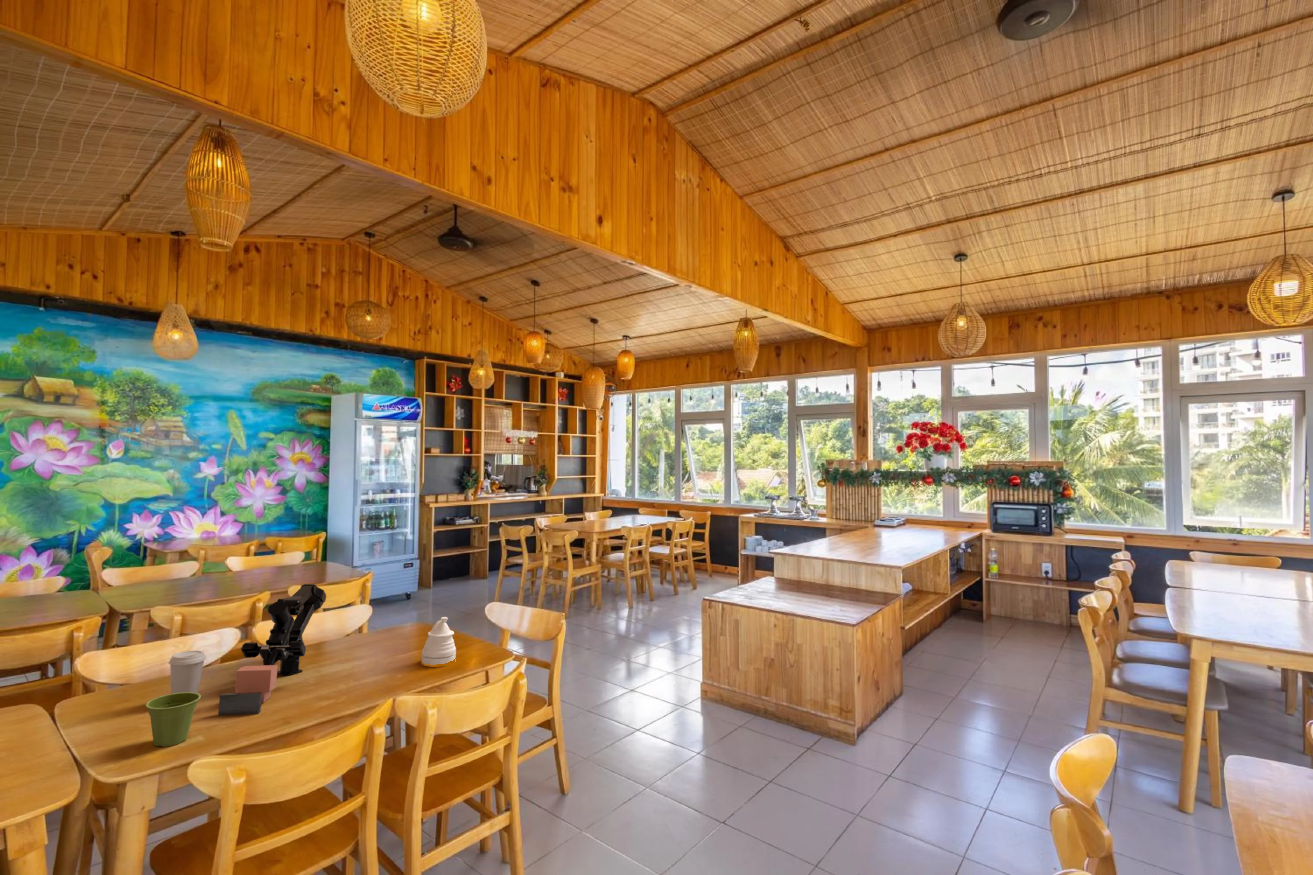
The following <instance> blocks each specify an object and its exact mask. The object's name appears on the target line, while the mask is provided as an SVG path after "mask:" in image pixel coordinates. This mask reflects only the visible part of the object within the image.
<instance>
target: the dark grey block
mask: <svg viewBox="0 0 1313 875" xmlns="http://www.w3.org/2000/svg"><path fill="white" fill-rule="evenodd" d="M261 699H262V692H252V693H235V692H228V693H225V692H224V693H221V694H220V695H219V701H218V712H217V715H218V716H235V715H236V716H237V715H240V716H241V715H242V716H243V715H259V714H260V713H261V710H262V703H261Z"/></svg>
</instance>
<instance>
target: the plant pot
mask: <svg viewBox="0 0 1313 875" xmlns="http://www.w3.org/2000/svg"><path fill="white" fill-rule="evenodd" d="M200 699H201V694H200V693H199V692H198V693H194V692H181V693H173V694H171V693H170V694H164V695H161V696H158V697H155V698H153V699H150V700H149V701H147V702H146V703H145V707H146V708H147V710H148V714H149V717H150V718H149V719H150V725H151V733H152V734H151V735H152V741H153V742H152V743H153V745H154V746H155V747H160V746H161V747H165V748H166V747H171V746H175V745H179V744H181V743H182V742H183V741H186V740H187V738H188V736H189V731H190V729H191V724H192V721H193V716H194V714H195V710H196V708H197V705H198V701H199V700H200Z"/></svg>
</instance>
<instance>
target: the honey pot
mask: <svg viewBox="0 0 1313 875" xmlns="http://www.w3.org/2000/svg"><path fill="white" fill-rule="evenodd" d="M448 620H449V618H448V617H447V616H442V617H441V618H440V620H437V622H435V623H434V625H433V626H432V628H431V630H430V631H428V632H427V639H426V640H425V643H424V647H423V648H422V653H421V663H422V662H423V663H424V664H429V665H436V664H445V663H448V662H450V661H453V660H454V659H455V658H457V657H456V656H457V655H456V654H457V646H455V640H454V639H453V635H455V632H454V631H453V630H451V629H450V627H449V626H448V623H447V621H448ZM455 660H456V659H455Z"/></svg>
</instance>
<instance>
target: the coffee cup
mask: <svg viewBox="0 0 1313 875" xmlns="http://www.w3.org/2000/svg"><path fill="white" fill-rule="evenodd" d="M206 659H207V656H206V655H205V652H204V651H203V650H187V651H185V650H184V651H181V652H178V653H174V654H172V656H171V658H170V659H169V661H168V664H169V665H170V666H169V667H170V670H169V671H170V694H173V693H181V692H194V693H198V694H199V689H200V683H201V679H202V674H203V668H204V663H205V661H206Z"/></svg>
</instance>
